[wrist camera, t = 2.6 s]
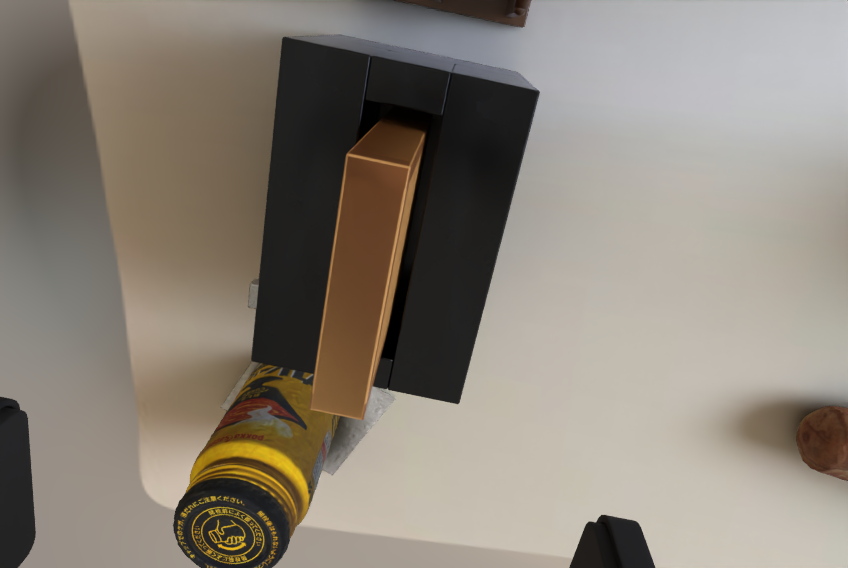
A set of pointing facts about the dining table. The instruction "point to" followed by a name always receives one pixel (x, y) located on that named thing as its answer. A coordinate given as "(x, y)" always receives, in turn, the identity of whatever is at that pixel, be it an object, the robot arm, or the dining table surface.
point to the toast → (368, 259)
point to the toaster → (434, 211)
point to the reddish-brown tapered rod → (825, 441)
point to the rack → (482, 9)
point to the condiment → (263, 468)
